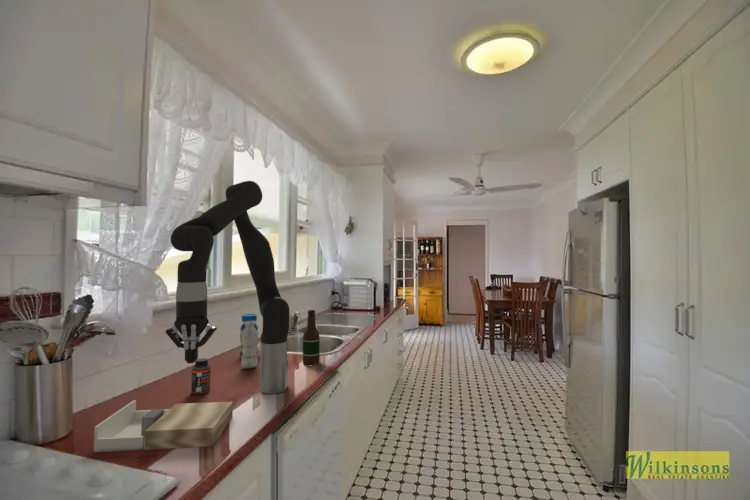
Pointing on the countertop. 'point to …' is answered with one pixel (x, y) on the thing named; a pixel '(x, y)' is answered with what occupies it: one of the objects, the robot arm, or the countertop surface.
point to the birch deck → (189, 425)
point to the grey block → (150, 419)
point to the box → (121, 430)
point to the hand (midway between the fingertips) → (191, 362)
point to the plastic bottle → (249, 346)
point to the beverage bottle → (245, 318)
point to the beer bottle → (311, 341)
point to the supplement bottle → (201, 377)
